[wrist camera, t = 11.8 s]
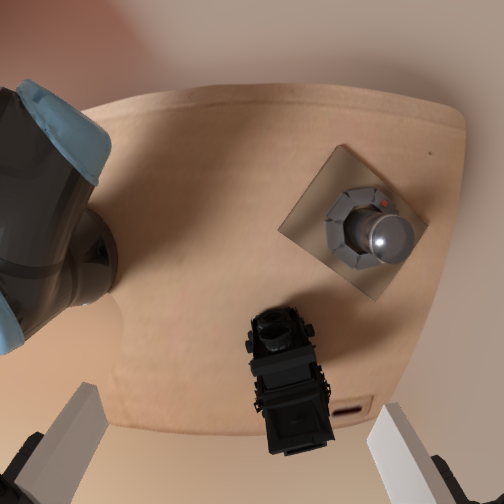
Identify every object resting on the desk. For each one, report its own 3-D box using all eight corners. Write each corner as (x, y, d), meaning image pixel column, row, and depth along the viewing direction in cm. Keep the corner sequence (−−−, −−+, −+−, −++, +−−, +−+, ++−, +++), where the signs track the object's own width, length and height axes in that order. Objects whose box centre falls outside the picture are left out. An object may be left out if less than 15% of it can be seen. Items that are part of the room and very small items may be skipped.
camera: (302, 290, 40) (345, 376, 20) (319, 364, 43) (354, 460, 23) (234, 308, 40) (223, 406, 21) (259, 380, 43) (265, 481, 24)
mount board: (277, 229, 38) (280, 233, 35) (336, 146, 35) (344, 142, 32) (372, 298, 40) (380, 306, 37) (423, 224, 38) (434, 227, 35)
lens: (344, 206, 36) (376, 213, 26) (379, 209, 36) (417, 217, 26) (341, 247, 37) (370, 267, 27) (375, 248, 37) (411, 268, 28)
